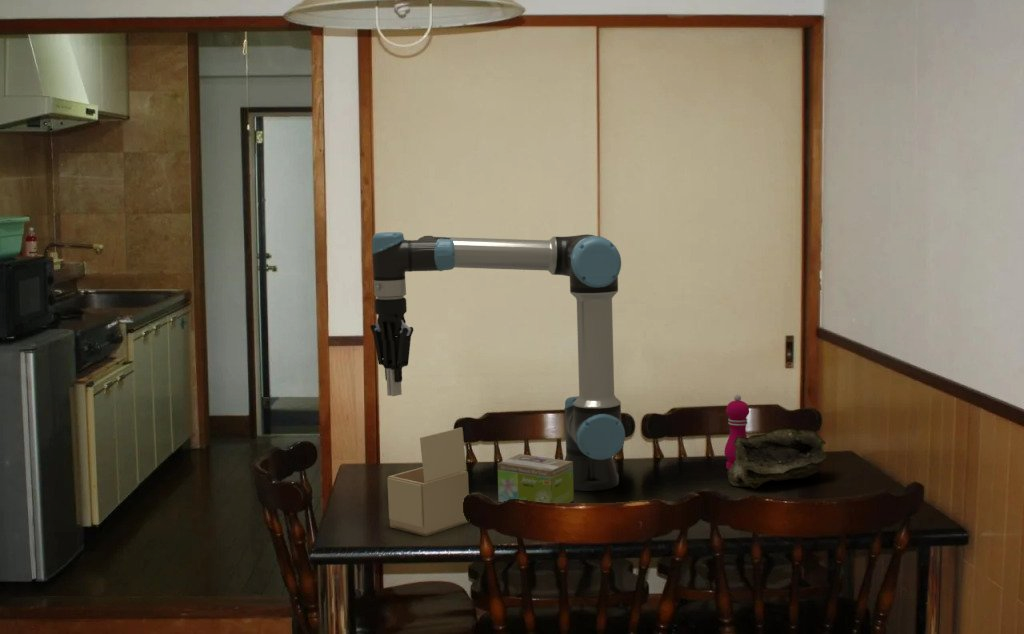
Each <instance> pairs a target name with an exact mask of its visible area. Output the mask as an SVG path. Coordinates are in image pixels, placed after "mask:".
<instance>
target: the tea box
mask: <svg viewBox="0 0 1024 634" xmlns="http://www.w3.org/2000/svg"><path fill="white" fill-rule="evenodd" d="M574 491H575V490H573V461H565V459H559V458H558V459H557V458H551V457H544V456H537V455H530V454H522V453H519V454H517V455H515V456H512V457H510V458H508V459H506V460H502V461H500V462H497V496H498V504H499V503H502V502H505V501H507V500H509V499H519V500H528V501H535V502H543V503H574V504H575V502H574V500H575V499H574V496H575V493H574Z"/></svg>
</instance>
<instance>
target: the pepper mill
mask: <svg viewBox="0 0 1024 634" xmlns="http://www.w3.org/2000/svg"><path fill="white" fill-rule="evenodd" d="M725 409H726V411H725V412H726V414H727V416H728V422H727V424H728V425H729V436H728V439H727V442H726V444H725V446H724V451H723V452H724V457H725V458H726V459H727V461H726V465H725V466H726V469H727V471H728V470H729V469H730V468H731V466H732V465H733V464H734V462H735V460H736V455H735V453H734V452H735V449H736V446H733V443H734V442H735V440H736V438H737V437H740V436H743V437H746V438H748V436H747V433H746V432H747V431H746V428H747V424H748V418H747V417H748V416H749V414H750V407H749V404H748V403H746V402H745V401H743V400H742V397H741V395H740V394H736V395H734V400H732V401H730V402H729V403H728V404H727V406H726V408H725Z"/></svg>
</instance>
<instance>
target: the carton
mask: <svg viewBox="0 0 1024 634" xmlns="http://www.w3.org/2000/svg"><path fill="white" fill-rule="evenodd" d="M386 481H387V497H388V498H387V499H388V503H387V505H388V519H389V528H392V529H395V530H399V531H403V532H407V533H412V534H413V535H418V536H422V537H428V536H431V535H434V534H437V533H440V532H443V531H447V530H449V529H453V528H455V527H459V526H461V525H464V524H467V523H469V522H468V521H467V520H466V518H465V516H464V513H463V502H464V498H465V497H466V496H467V495H470V491H469V490H470V489H469V473H468V471H467V470H465V471H462V472H458V473H455V474H451V475H448V476H444V477H441V478H437V479H434V480H430V481H427V482H424V474H423V466H421V467H418V468H415V469H410V470H407V471H402V472H399V473H396V474H392V475H389V476H387V480H386Z"/></svg>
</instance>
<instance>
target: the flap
mask: <svg viewBox="0 0 1024 634" xmlns="http://www.w3.org/2000/svg"><path fill="white" fill-rule="evenodd" d="M464 441H465V440H464V431H463V427H461V426H460V427H457V428H454V429H449V430H446V431H442V432H437V433H433V434H428V435H425V436H422V437H419V442H420V443H419V444H420V453H421V463H422V467H423V474H424V482H427V481H430V480H434V479H437V478H441V477H444V476H448V475H451V474H455V473H458V472H462V471H467V464H466V463H467V462H466V461H467V460H466V453H465V452H466V451H465V443H464Z"/></svg>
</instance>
